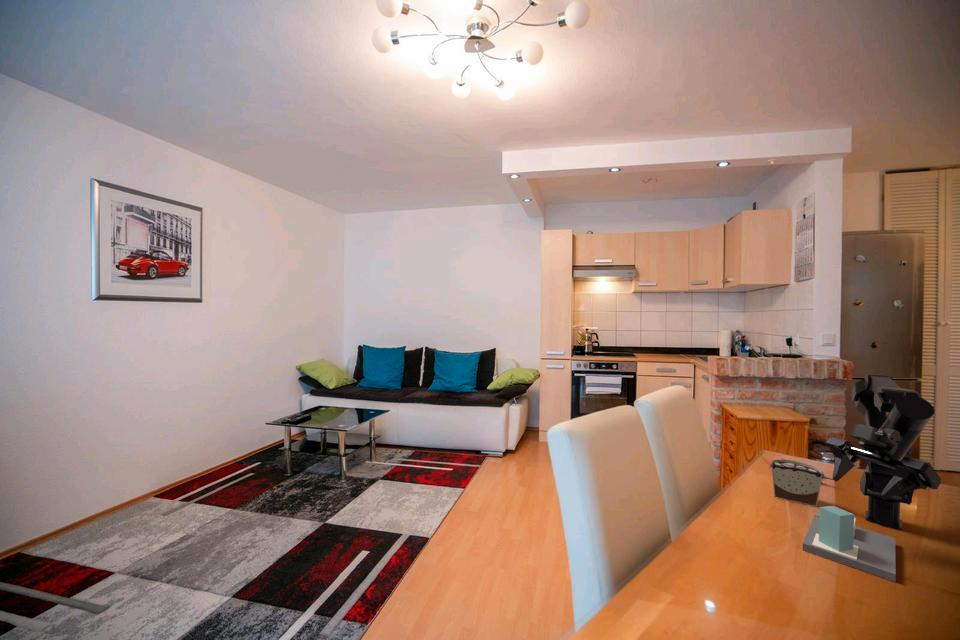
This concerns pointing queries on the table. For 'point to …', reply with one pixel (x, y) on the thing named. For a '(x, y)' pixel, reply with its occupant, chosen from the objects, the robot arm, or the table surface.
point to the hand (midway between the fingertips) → (857, 488)
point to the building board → (858, 551)
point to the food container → (796, 481)
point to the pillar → (836, 528)
